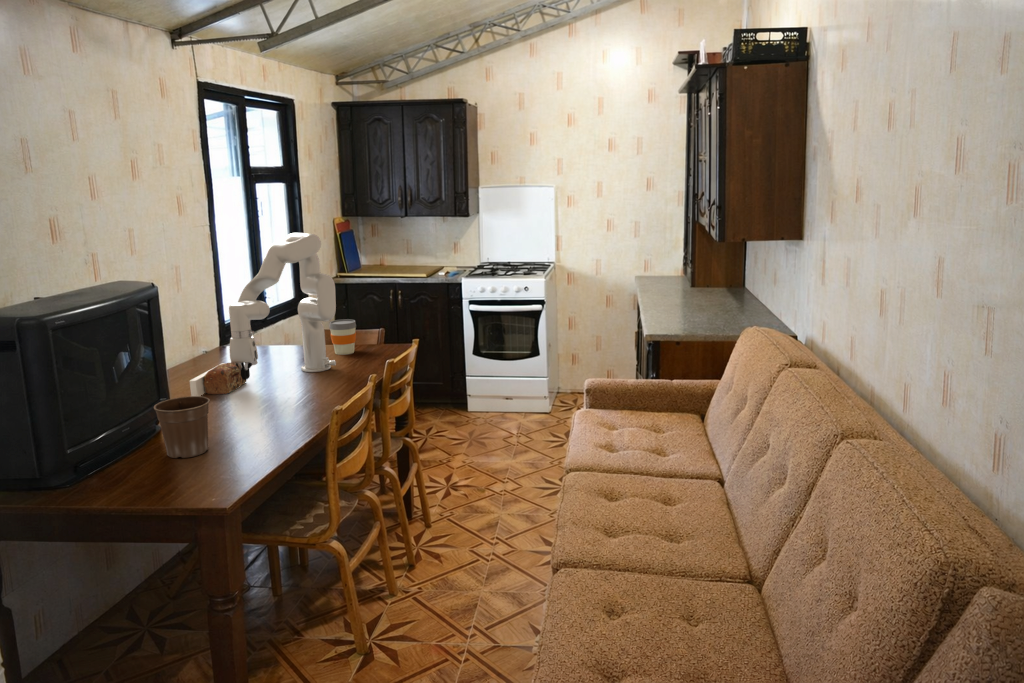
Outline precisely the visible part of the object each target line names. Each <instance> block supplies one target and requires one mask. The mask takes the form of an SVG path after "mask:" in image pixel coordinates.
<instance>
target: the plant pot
mask: <svg viewBox="0 0 1024 683" xmlns="http://www.w3.org/2000/svg"><path fill="white" fill-rule="evenodd" d="M210 400H211V399H210V398H208V397H207V396H191V395H190V396H181V397H174V398H171V399H166V400H163V401H160V402H158V403H156V404H154V406H153V410H154V411H155V413H156V417H157V420H158V422H159V424H160V425H159V426H160V429H161V432H162V437H163V442H164V445H165V450H166V455H167V457H169V458H172V459H178V458H182V459H188V458H193V457H194V458H195V457H197V456H200V455H203V454H205V453H206V451H208V450H209V425H208V423H209V422H208V417H209V416H208V414H209V403H210V402H211V401H210Z"/></svg>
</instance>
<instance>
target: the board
mask: <svg viewBox="0 0 1024 683" xmlns="http://www.w3.org/2000/svg"><path fill="white" fill-rule="evenodd" d="M225 363H226V362H225ZM225 363H223V362H221V364H225ZM215 367H216V366H215ZM215 367H212V368H211V369H209V370H206V371H205V372H203V373H201V374H199V375H198V376H195V377H194V378H191V379H190V380H189V388H190V396H201V395H202V396H204V395H205V394H207V393H206V391H205V386H204V376H205V375H206V374H207V372H208V371H210V370H212V369H213V368H215ZM204 393H205V394H204ZM203 394H204V395H203ZM202 396H201V397H202Z"/></svg>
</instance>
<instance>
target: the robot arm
mask: <svg viewBox="0 0 1024 683" xmlns="http://www.w3.org/2000/svg"><path fill="white" fill-rule="evenodd" d="M321 248H322V241H321V239H320V237H319V236H318V235H316V234H314V233H305V232H292V233H289V234H287V235H286V237H285V242H283V241H276V242H273V243H271V244H270V245H269V247H268V249H267V251H266V254H265V256H264V259H263V261H262V264H261V266H260V269H259V271H258V273H257V274H256V275H255V276H253V278H252V279H250V281H249V282H248V283H247V284H246V285H245V287H244V288H243V290H242V291H241V293H240V296H239V298H238V301H237V302H235V303H232V304H230V305H229V306H228V313H229V321H230V322H229V323H230V324H229V325H230V333H231V337H230V340H229V360H230V363H231V364H232V365H236V366H237V367H238V368H239V370H241V377H242V380H244V379H245V380H246V381H247V380H248V379H250V375H251V373H250V369H251V367H253V366H255V365H257V364H258V359H259V353H258V348H257V344H256V343H257V342H256V340H255V337H254V335H255V331H254V330H252V327H251V321H252V320H253V321H254V320H255V321H256V320H264V319H265V318H266V317H268V316H269V314H270V309H271V308H270V305H268V303H267V302H265V301H262V300H257V298H258V297H259V295H260V294H261V293H262V292H264V291H265V290H266V289H269V288H271V287H272V286H275V285H277V283H279V281H280V279H281V277H282V274H283V271H284V268H285V266H286V264H296V263H298V264H299V283H300V284H299V285H300V290H301V291H302V293H303V294H306V295H310V296H316V297H305V298H303V299H301V300H300V301H299V302H298V305H297V313H298V318H299V321H300V326H301V334H302V347H303V348H302V349H303V358H304V365H302V366H301V367H300V368H301V371H302V372H306V373H317V372H324V371H328V370H330V369H331V367H332V366H336V365H337V361H336V360H335V359H332V360H330V359H329V356H328V357H327V349H326V334H325V332H326V331H325V327H324V324H323V322H331V321H332V320H333V319H334V317H335V315H336V309H337V308H336V307H337V304H336V300H337V299H336V284H335V281H334V279H333V278H332V276H331V275H329V274H326V273H321V264H320V259H319V256H318V254H317V253H318V252H319V251H320V250H321ZM244 365H245V366H244Z"/></svg>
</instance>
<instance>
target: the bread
mask: <svg viewBox="0 0 1024 683" xmlns="http://www.w3.org/2000/svg"><path fill="white" fill-rule="evenodd" d="M244 366H245V364H244ZM212 368H213V369H212ZM212 368H211V369H212V370H210V369H209V370H210V371H209V370H207V371H208V372H207V371H206V372H207V374H206V375H205V376H204V386H205V391H206V393H205V394H208V395H227V393H228V394H230V393H231V392H233V390H234V391H236V390H237V389H238V387H239V386H241V387H242V386H243V385H245V384H246V383H247V380H245V379H244V380H242V377H241V370H239V368H238V367H237V366H236V365H232V364H231V362H225V364H222V363H220V364H218V365H216V366H215V368H214V367H212ZM245 382H246V383H245ZM244 383H245V384H244ZM236 388H237V389H236ZM239 388H240V387H239Z"/></svg>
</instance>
